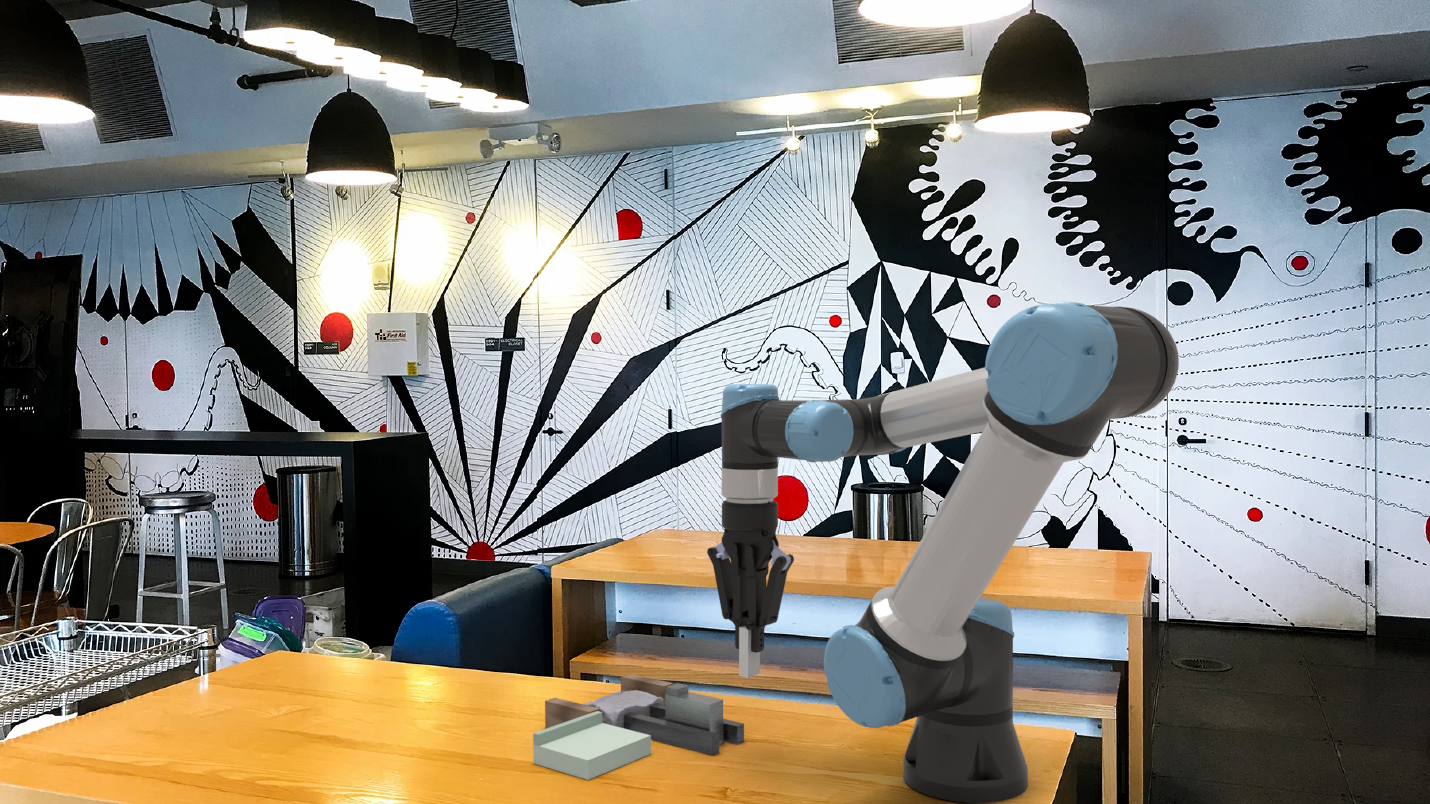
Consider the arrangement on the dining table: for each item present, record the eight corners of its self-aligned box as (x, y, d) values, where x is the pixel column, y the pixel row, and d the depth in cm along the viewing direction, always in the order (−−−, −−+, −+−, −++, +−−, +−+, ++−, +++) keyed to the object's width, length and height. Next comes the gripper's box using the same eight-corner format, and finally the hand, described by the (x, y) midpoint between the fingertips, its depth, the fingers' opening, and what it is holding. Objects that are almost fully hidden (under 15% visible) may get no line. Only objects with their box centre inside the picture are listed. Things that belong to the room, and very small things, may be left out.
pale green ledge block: (651, 753, 148) (650, 724, 148) (587, 780, 139) (587, 748, 139) (597, 739, 154) (597, 710, 154) (533, 763, 145) (533, 733, 145)
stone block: (567, 738, 161) (617, 738, 155) (563, 705, 161) (612, 703, 155) (622, 721, 170) (671, 719, 164) (617, 689, 171) (666, 687, 165)
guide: (744, 741, 153) (744, 723, 153) (712, 755, 147) (712, 736, 147) (657, 719, 163) (657, 703, 163) (624, 732, 157) (623, 715, 157)
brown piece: (673, 709, 168) (672, 683, 168) (589, 740, 154) (589, 712, 154) (629, 699, 173) (629, 673, 173) (545, 728, 159) (545, 700, 159)
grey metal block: (723, 742, 152) (723, 692, 152) (710, 748, 150) (709, 697, 150) (679, 731, 157) (678, 682, 157) (665, 736, 155) (665, 687, 155)
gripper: (806, 500, 146) (805, 676, 147) (728, 493, 154) (728, 660, 155) (773, 506, 140) (773, 689, 141) (694, 498, 148) (694, 672, 149)
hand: (749, 674), depth 148 cm, fingers closed
